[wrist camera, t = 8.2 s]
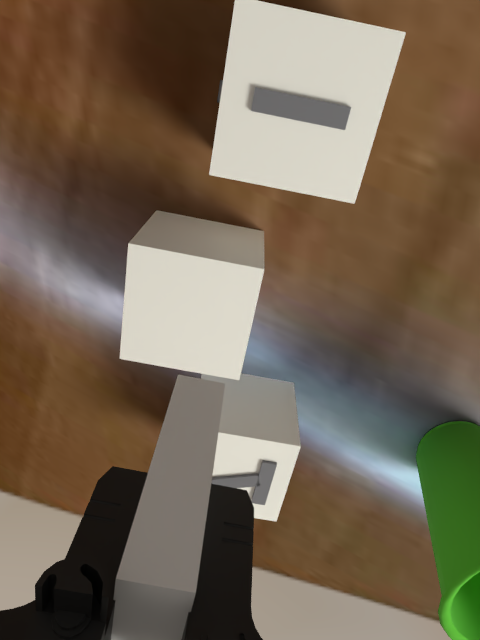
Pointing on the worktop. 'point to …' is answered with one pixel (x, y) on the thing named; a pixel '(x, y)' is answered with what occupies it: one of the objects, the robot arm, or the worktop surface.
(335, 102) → the digit block 1
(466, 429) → the cup
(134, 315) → the plain block
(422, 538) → the worktop surface
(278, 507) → the letter t cube
